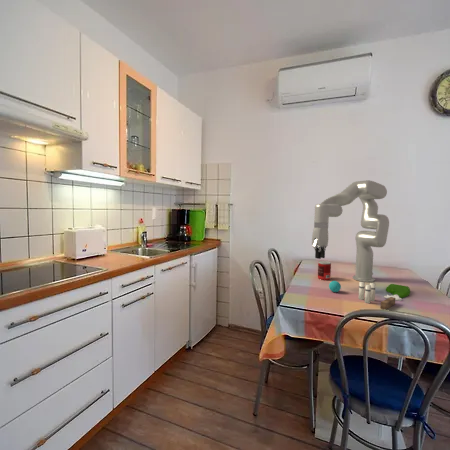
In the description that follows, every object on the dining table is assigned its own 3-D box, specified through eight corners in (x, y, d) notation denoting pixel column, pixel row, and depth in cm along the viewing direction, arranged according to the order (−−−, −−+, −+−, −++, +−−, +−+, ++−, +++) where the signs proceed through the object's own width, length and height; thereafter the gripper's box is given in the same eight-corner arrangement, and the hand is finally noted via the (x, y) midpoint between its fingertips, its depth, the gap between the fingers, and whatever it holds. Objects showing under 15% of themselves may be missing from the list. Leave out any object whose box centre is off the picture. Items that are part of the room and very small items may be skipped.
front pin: (359, 297, 132) (360, 281, 131) (364, 299, 130) (365, 282, 129) (357, 298, 130) (358, 282, 129) (362, 300, 128) (363, 283, 128)
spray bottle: (411, 292, 145) (406, 304, 126) (388, 287, 152) (380, 299, 133) (411, 286, 144) (406, 298, 126) (388, 282, 151) (380, 293, 133)
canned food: (331, 278, 169) (331, 261, 168) (329, 281, 162) (329, 263, 161) (318, 276, 173) (319, 260, 172) (316, 279, 166) (317, 262, 165)
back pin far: (370, 299, 130) (371, 282, 130) (375, 300, 128) (376, 283, 128) (368, 300, 128) (368, 283, 128) (373, 301, 126) (374, 284, 126)
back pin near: (365, 301, 127) (366, 284, 126) (371, 302, 125) (372, 285, 124) (363, 302, 125) (364, 284, 125) (369, 303, 123) (369, 286, 123)
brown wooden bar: (390, 302, 125) (390, 296, 125) (395, 304, 123) (395, 297, 123) (380, 308, 117) (380, 302, 117) (385, 309, 116) (385, 303, 116)
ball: (332, 289, 145) (332, 278, 145) (342, 292, 140) (343, 281, 140) (326, 291, 141) (326, 280, 141) (337, 294, 136) (337, 283, 136)
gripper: (323, 225, 154) (321, 255, 155) (306, 225, 144) (305, 258, 145) (335, 225, 148) (333, 257, 149) (319, 226, 138) (317, 260, 139)
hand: (319, 257), depth 147 cm, fingers open, 3 cm apart
